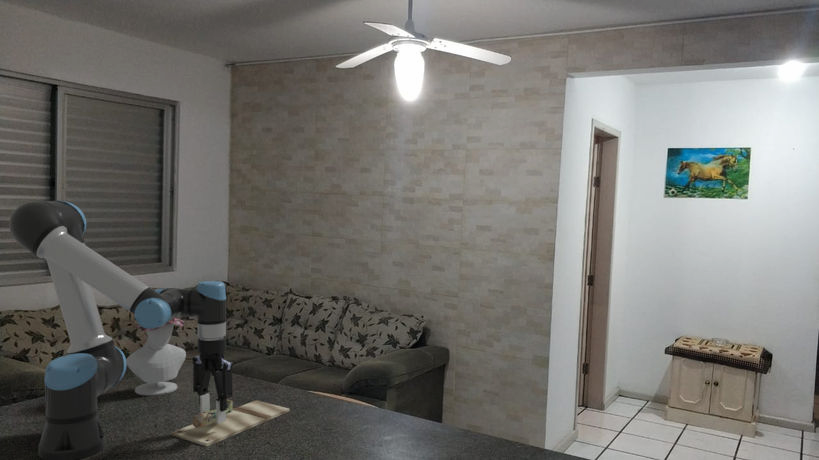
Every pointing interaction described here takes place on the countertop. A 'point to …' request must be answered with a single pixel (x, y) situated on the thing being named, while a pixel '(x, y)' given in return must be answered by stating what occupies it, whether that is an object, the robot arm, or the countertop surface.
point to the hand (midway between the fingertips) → (213, 419)
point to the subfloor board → (232, 423)
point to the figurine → (209, 416)
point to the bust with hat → (157, 360)
